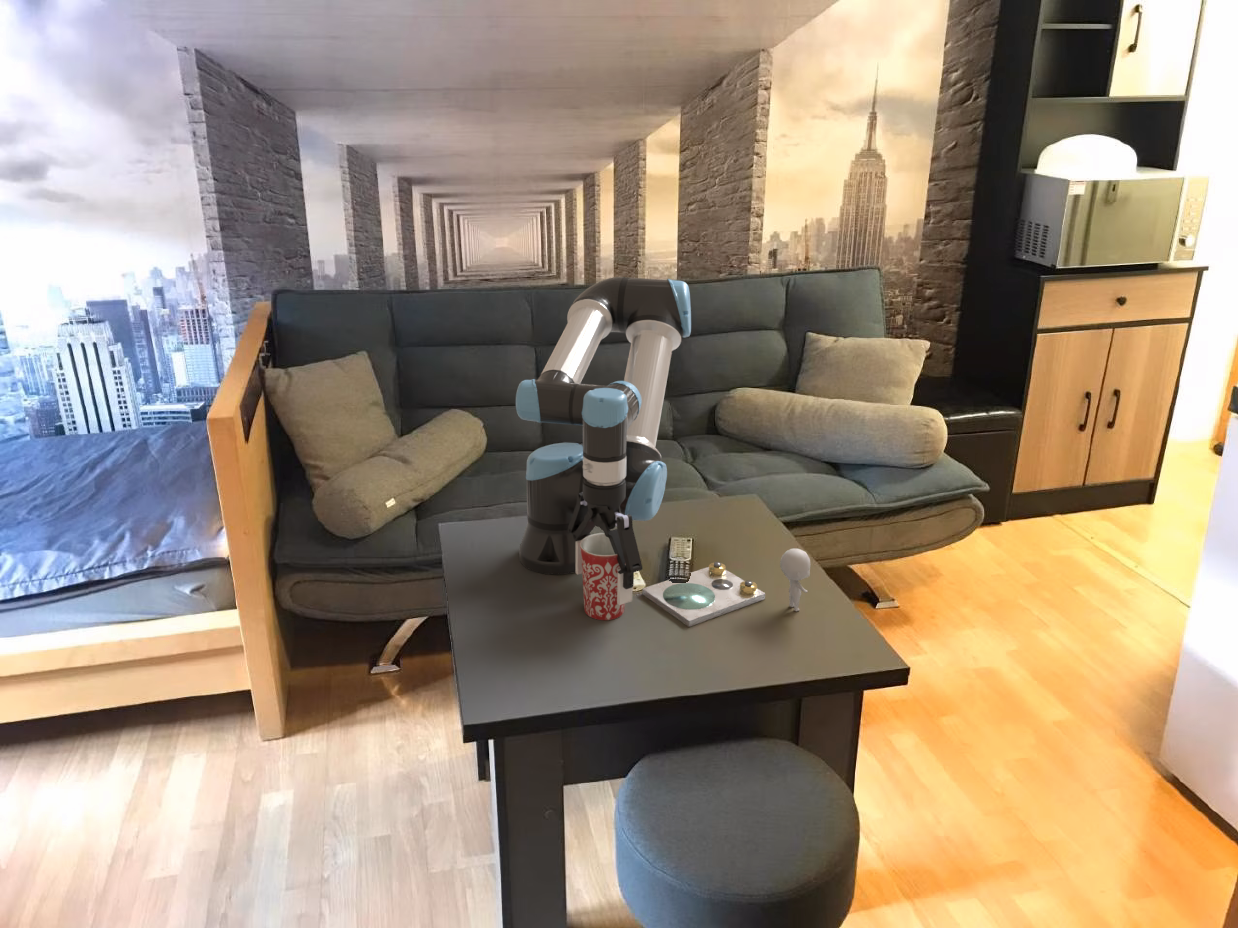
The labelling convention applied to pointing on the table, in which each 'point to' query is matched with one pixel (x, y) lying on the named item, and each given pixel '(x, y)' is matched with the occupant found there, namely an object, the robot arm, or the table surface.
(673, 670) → the table surface
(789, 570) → the figurine
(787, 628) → the table surface
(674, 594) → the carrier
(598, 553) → the mug
